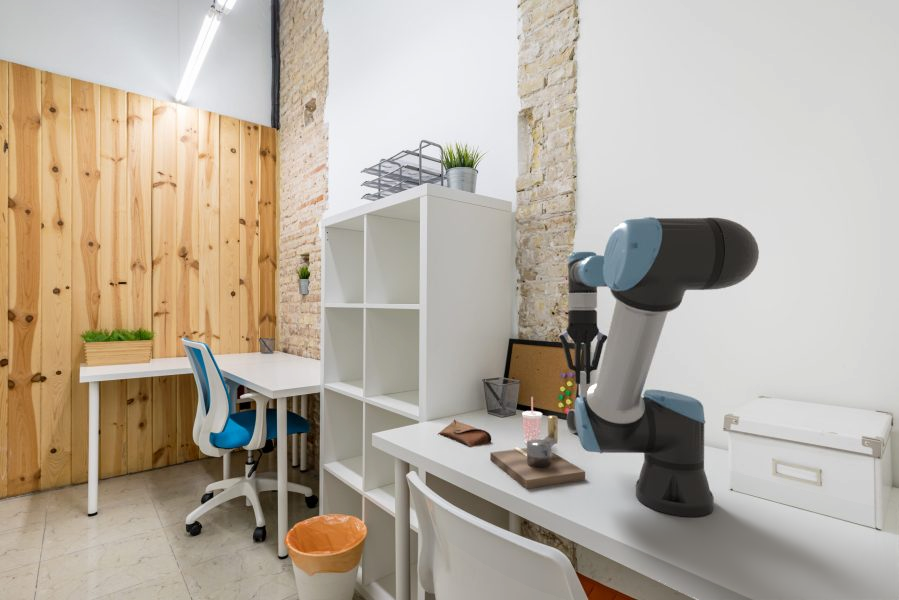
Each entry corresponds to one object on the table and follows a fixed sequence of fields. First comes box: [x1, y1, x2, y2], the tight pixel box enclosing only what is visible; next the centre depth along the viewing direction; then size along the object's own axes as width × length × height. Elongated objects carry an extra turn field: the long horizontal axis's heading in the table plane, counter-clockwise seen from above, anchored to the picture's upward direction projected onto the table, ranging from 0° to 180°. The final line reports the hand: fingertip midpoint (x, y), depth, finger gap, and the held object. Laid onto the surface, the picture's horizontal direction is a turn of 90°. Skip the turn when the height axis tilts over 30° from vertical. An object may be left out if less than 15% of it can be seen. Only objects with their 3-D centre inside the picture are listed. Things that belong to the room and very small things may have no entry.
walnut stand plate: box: [489, 446, 586, 490], centre depth 116 cm, size 20×16×2 cm
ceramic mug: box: [566, 408, 578, 434], centre depth 150 cm, size 11×8×8 cm
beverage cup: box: [521, 396, 543, 445], centre depth 137 cm, size 6×6×14 cm
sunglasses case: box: [437, 419, 492, 448], centre depth 143 cm, size 18×7×7 cm, turn 38°
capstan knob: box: [526, 415, 559, 467], centre depth 118 cm, size 15×6×9 cm, turn 149°
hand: (582, 395), depth 123 cm, fingers closed
